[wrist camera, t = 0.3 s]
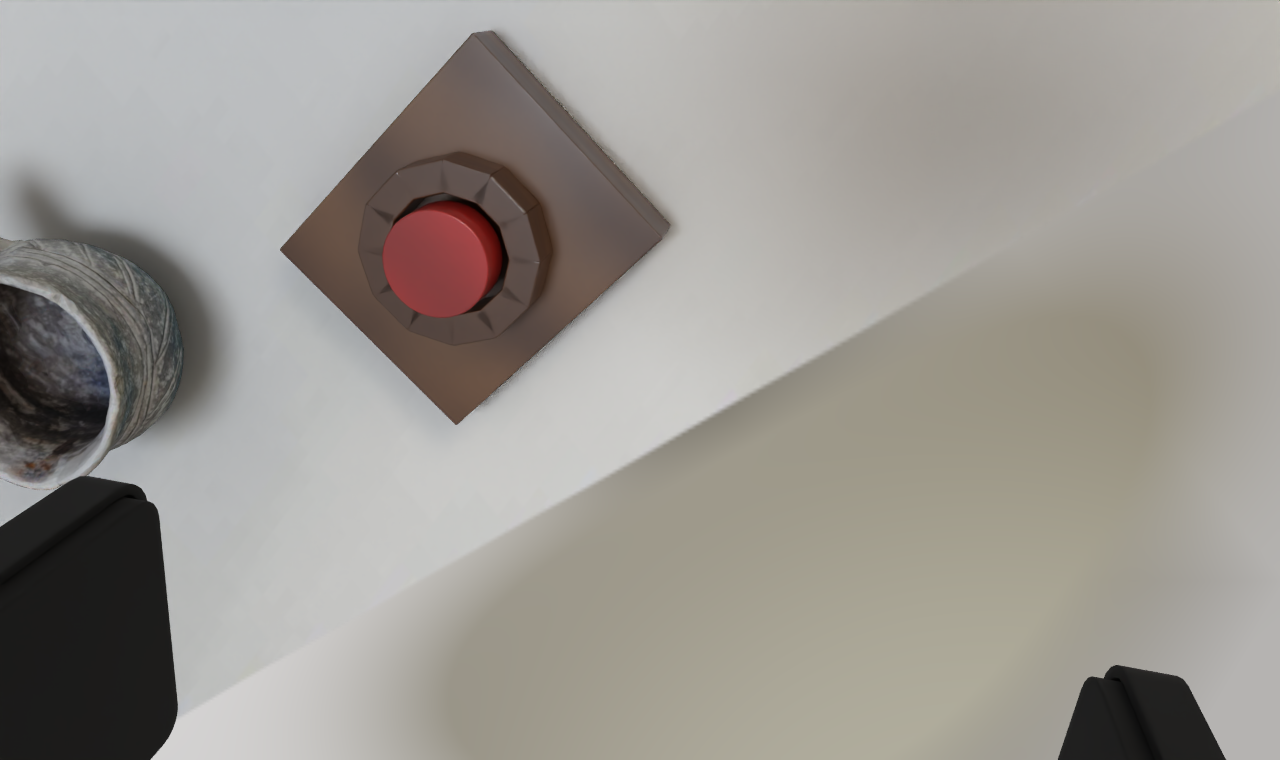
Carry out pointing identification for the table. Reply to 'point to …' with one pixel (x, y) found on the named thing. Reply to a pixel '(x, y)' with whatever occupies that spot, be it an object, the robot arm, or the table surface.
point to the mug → (78, 358)
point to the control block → (506, 196)
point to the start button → (442, 258)
